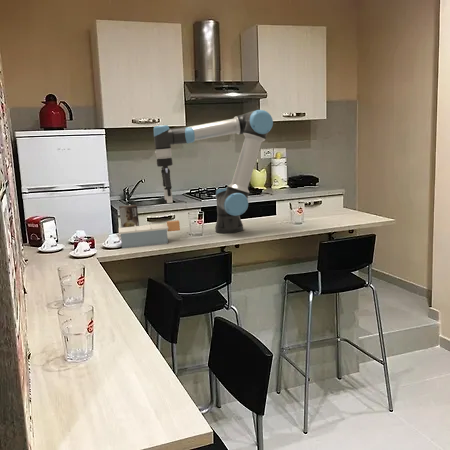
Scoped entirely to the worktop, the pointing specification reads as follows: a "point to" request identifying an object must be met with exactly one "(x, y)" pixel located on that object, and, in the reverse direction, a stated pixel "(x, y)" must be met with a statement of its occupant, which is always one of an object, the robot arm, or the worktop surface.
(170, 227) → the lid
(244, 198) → the robot arm
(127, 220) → the coffee box
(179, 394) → the worktop surface
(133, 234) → the tub
